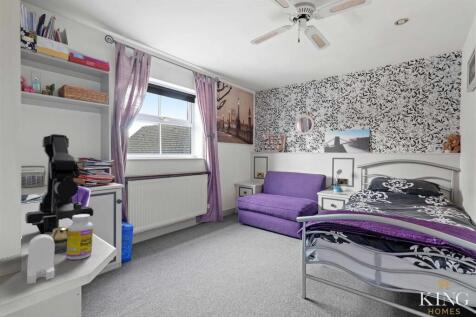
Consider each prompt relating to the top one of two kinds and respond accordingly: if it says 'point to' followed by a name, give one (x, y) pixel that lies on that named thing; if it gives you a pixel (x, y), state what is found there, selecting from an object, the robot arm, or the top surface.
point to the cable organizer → (40, 258)
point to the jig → (60, 247)
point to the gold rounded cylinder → (60, 234)
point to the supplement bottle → (79, 237)
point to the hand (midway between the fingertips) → (60, 238)
